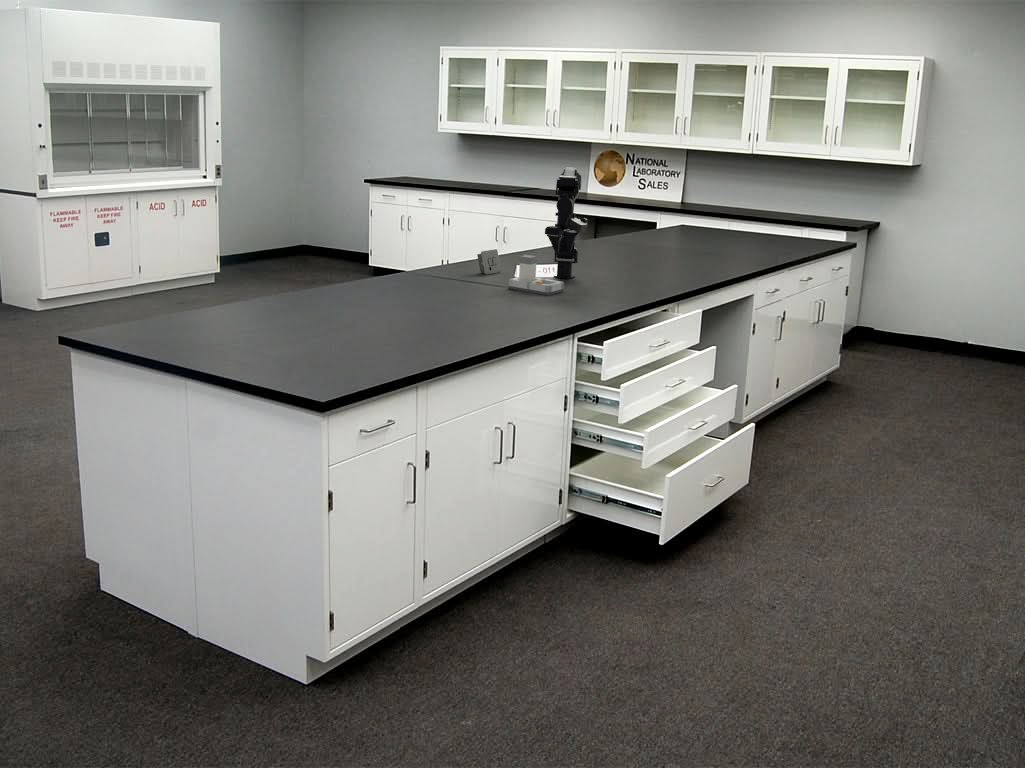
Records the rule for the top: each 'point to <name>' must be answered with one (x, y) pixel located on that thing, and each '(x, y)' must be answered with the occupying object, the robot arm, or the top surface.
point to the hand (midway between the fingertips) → (563, 252)
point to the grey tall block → (527, 268)
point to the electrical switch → (489, 262)
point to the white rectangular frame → (537, 286)
